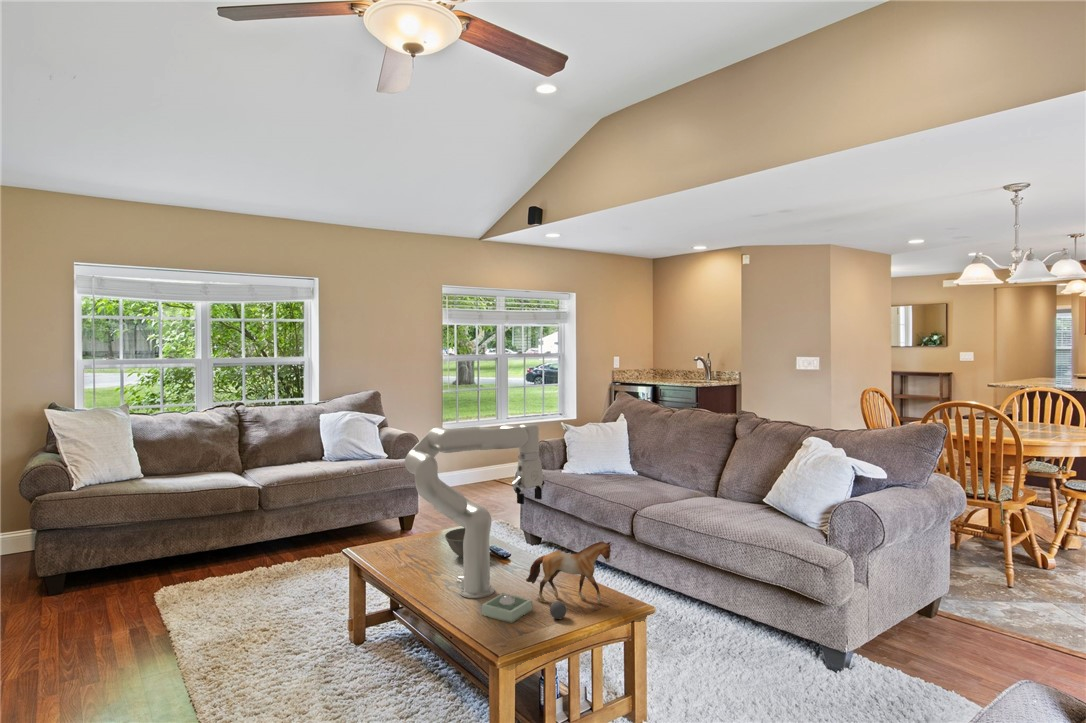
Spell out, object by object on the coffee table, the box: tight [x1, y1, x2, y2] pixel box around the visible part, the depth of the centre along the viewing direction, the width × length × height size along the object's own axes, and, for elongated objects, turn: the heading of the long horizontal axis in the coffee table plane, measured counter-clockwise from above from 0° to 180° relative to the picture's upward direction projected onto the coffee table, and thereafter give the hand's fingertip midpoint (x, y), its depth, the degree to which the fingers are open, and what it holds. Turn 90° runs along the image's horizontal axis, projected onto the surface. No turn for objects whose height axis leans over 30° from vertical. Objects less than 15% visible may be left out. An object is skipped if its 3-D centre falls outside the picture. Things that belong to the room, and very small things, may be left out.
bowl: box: [444, 527, 465, 559], centre depth 275 cm, size 19×19×10 cm
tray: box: [481, 592, 533, 624], centre depth 217 cm, size 12×12×4 cm
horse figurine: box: [525, 541, 613, 605], centre depth 227 cm, size 31×8×21 cm, turn 81°
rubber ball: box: [549, 600, 568, 620], centre depth 212 cm, size 6×6×6 cm
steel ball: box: [499, 593, 516, 611], centre depth 217 cm, size 6×6×6 cm
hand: (529, 501), depth 246 cm, fingers open, 9 cm apart
